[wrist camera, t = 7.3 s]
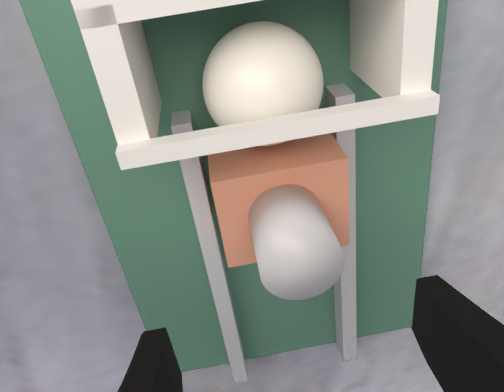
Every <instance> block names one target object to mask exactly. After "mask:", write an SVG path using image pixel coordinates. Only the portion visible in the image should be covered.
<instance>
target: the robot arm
mask: <svg viewBox="0 0 504 392" xmlns="http://www.w3.org/2000/svg"><path fill="white" fill-rule="evenodd" d="M412 330H413V332H414V335H415V337H416V339H417V342H418V344H419V346H420V348H421V351H422V353H423V355H424V357H425V359H426V362H427V363H428V365H429V367H430V369H431V370H432V372H433V374H434V375H435V377H436V379H437V380H438V382H439V384H440V386H441V387H442V389H443V391H444V392H504V325H503V324H502V323H500V322H499V321H497V320H496V319H495V318H493V317H492V316H490V315H489V314H488V313H486V312H485V311H484V310H482V309H481V308H480V307H478V306H477V305H476V304H474V303H473V302H472V301H470V300H469V299H468V298H467V297H465V296H464V295H463V294H461V293H460V292H459V291H457V290H456V289H455V288H453V287H452V286H451V285H450V284H448V283H447V282H446V281H444V280H443V279H442V278H440V277H439V276H438V275H435V276H430V277H424V278H419V279H416V288H415V299H414V309H413V320H412ZM118 392H183V389H182V373H181V370H180V367H179V364H178V361H177V358H176V356H175V353H174V350H173V347H172V344H171V341H170V338H169V335H168V332H167V329H166V327H164V328H159V329H154V330H149V331H144V332H143V333H142V335H141V337H140V340H139V342H138V345H137V348H136V350H135V353H134V356H133V358H132V361H131V363H130V365H129V368H128V370H127V373H126V375H125V377H124V380H123V382H122V384H121V386H120V388H119V390H118Z"/></svg>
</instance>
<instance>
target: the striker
mask: <svg viewBox="0 0 504 392" xmlns="http://www.w3.org/2000/svg"><path fill="white" fill-rule="evenodd" d="M208 165H209V176H210V184H211V189H212V194H213V198H214V203H215V208H216V212H217V217H218V222H219V227H220V231H221V236H222V241H223V245H224V250H225V255H226V259H227V264H228V268H230V267H236V266H241V265H246V264H252V263H257V265H258V269H259V274H260V278H261V281H262V284H263V285H264V287H265V288H266V289H267V290H268V291H269V292H270V293H271V294H273V295H275V296H277V297H279V298H283V299H288V300H303V299H308V298H312V297H315V296H317V295H319V294H322V293H323V292H325V291H327V290H328V289H329V288H331V287H332V286H333V285H334V284H335V283H336V282H337V281H338V279H339V278H340V276H341V274H342V272H343V270H344V266H345V255H344V252H343V250H342V248H341V247H342V246H347V245H350V237H349V173H348V157H347V156H346V154H345V153H344V151H343V150H342V149H341V147H340V146H339V144H338V143H337V141H336V140H335V139H334V137H333V136H332V134H331V133H328V134H322V135H317V136H311V137H306V138H300V139H294V140H289V141H286V142H283V143H280V144H277V145H272V146H255V147H249V148H244V149H238V150H233V151H227V152H221V153H216V154H210V155H208Z"/></svg>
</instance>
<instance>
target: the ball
mask: <svg viewBox="0 0 504 392" xmlns="http://www.w3.org/2000/svg"><path fill="white" fill-rule="evenodd" d="M323 85H324V81H323V72H322V67H321V64H320V61H319V59H318V56H317V54H316V52H315V51H314V49H313V48H312V46H311V45H310V43H309V42H308V41H307V40H306V39H305V38H304V37H303V36H302V35H301V34H299V33H298V32H296V31H295V30H294V29H292V28H290V27H288V26H285V25H282V24H280V23H276V22H269V21H258V22H251V23H247V24H244V25H241V26H239V27H237V28H235V29H233V30H232V31H230V32H229V33H227V34H226V35H225V36H224V37H222V38H221V39H220V40H219V42H218V43H217V44H216V45H215V46H214V48H213V49H212V51H211V53H210V55H209V57H208V59H207V61H206V64H205V68H204V72H203V82H202V87H203V96H204V100H205V104H206V107H207V109H208V111H209V114H210V115H211V117H212V119H213V120H214V122H215V123H216V124H217V125H218V126H219V127H220V126H225V125H231V124H237V123H242V122H248V121H254V120H260V119H265V118H271V117H277V116H282V115H288V114H294V113H299V112H305V111H311V110H317V109H318V108H319V106H320V103H321V99H322V95H323ZM283 142H286V141H283ZM283 142H277V143H272V144H266V145H261V146H272V145H277V144H280V143H283Z"/></svg>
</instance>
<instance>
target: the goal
mask: <svg viewBox="0 0 504 392" xmlns="http://www.w3.org/2000/svg"><path fill="white" fill-rule="evenodd" d="M255 1H261V0H71V3H72V6H73V9H74V12H75V15H76V18H77V21H78V24H79V27H80V30H81V33H82V37H83V40H84V43H85V46H86V49H87V52H88V55H89V58H90V61H91V64H92V67H93V70H94V73H95V76H96V79H97V82H98V85H99V89H100V92H101V95H102V98H103V101H104V104H105V107H106V110H107V113H108V116H109V119H110V122H111V125H112V128H113V131H114V134H115V137H116V141H117V144H118V145H117V148H116V152H115V154H116V157H117V160H118V163H119V166H120V169H121V170H126V169H131V168H137V167H143V166H148V165H154V164H159V163H165V162H171V161H176V160H182V159H188V158H193V157H199V156H204V155H210V154H216V153H221V152H227V151H233V150H238V149H244V148H249V147H255V146H261V145H266V144H272V143H277V142H283V141H289V140H294V139H300V138H306V137H311V136H317V135H322V134H328V133H334V132H339V131H345V130H351V129H356V128H362V127H367V126H373V125H379V124H384V123H390V122H396V121H401V120H407V119H412V118H418V117H424V116H429V115H435V114H438V111H439V101H440V95H438V94H437V93H435V92H434V91H432V90H431V81H432V70H433V59H434V48H435V37H436V25H437V14H438V3H439V0H349V2H350V70H351V71H352V72H353V73H354V74H355V75H357V76H358V77H359V78H360V79H361V80H362V81H364V82H365V83H366V84H367V85H368V86H369V87H370V88H372V89H373V90H374V91H375V92H376V93H377V94H379V95H380V96H381V97H382V98H379V99H374V100H368V101H362V102H356V103H351V104H345V105H339V106H334V107H328V108H322V109H317V110H311V111H305V112H299V113H294V114H288V115H282V116H277V117H271V118H265V119H260V120H254V121H248V122H242V123H237V124H231V125H225V126H220V127H214V128H208V129H203V130H197V131H191V132H185V133H180V134H174V135H168V136H163V137H157V135H158V127H159V120H160V112H161V105H162V101H161V97H160V94H159V90H158V86H157V82H156V78H155V74H154V70H153V66H152V62H151V58H150V54H149V50H148V46H147V42H146V38H145V34H144V30H143V26H142V22H141V20H145V19H151V18H157V17H163V16H170V15H176V14H182V13H188V12H194V11H200V10H206V9H212V8H218V7H224V6H230V5H236V4H243V3H249V2H255Z"/></svg>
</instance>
